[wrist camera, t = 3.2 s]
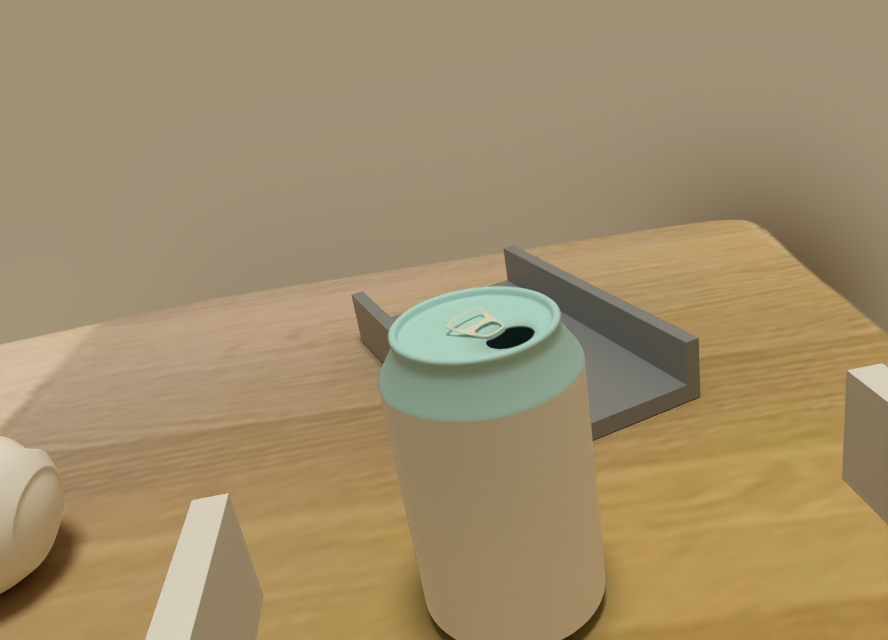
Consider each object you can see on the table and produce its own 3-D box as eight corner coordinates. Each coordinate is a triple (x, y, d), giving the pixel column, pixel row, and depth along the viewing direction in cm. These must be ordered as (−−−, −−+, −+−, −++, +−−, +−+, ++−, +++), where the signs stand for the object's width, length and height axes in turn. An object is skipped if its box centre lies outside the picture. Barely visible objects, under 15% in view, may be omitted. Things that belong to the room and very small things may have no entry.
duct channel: (489, 482, 37) (479, 420, 36) (361, 340, 55) (351, 294, 53) (700, 396, 41) (698, 337, 40) (518, 289, 59) (513, 245, 57)
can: (600, 529, 33) (576, 268, 28) (613, 665, 27) (584, 359, 22) (439, 536, 34) (389, 287, 30) (415, 667, 28) (346, 379, 23)
